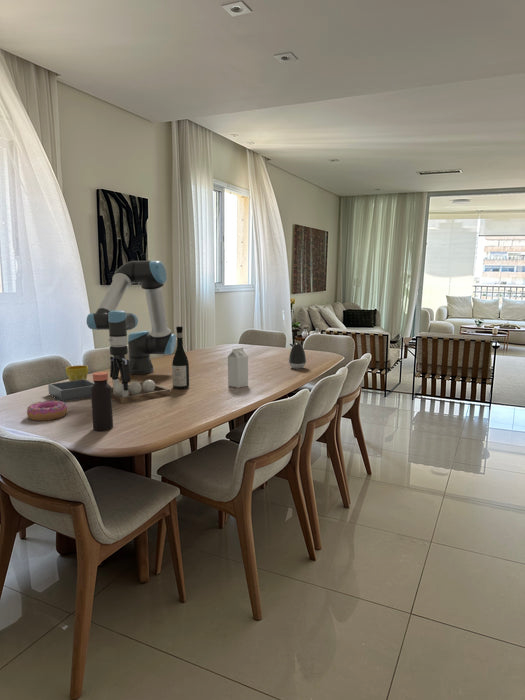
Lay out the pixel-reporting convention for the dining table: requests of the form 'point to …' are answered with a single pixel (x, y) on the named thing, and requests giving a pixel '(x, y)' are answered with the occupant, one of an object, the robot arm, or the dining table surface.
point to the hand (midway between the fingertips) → (120, 395)
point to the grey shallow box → (71, 390)
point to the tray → (141, 395)
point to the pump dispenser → (297, 356)
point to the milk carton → (238, 368)
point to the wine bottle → (180, 364)
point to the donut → (47, 410)
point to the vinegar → (101, 402)
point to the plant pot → (77, 372)
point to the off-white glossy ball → (118, 390)
